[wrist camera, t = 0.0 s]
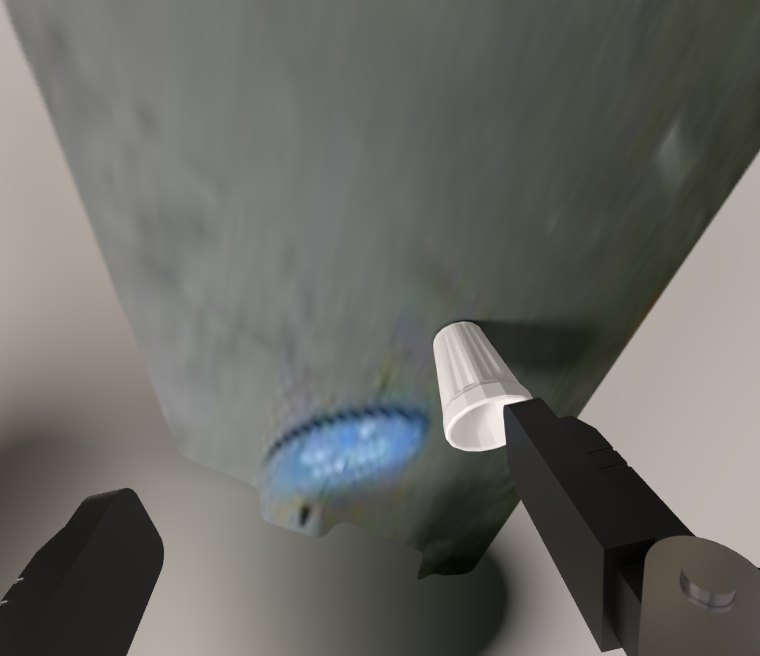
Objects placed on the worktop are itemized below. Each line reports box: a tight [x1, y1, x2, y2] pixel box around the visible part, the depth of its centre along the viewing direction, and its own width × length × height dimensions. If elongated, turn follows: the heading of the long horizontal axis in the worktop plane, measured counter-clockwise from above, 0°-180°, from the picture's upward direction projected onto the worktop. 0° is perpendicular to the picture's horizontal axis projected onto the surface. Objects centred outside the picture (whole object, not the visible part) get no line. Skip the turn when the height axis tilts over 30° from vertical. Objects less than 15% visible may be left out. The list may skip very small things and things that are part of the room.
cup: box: [433, 321, 533, 451], centre depth 49 cm, size 10×10×13 cm
